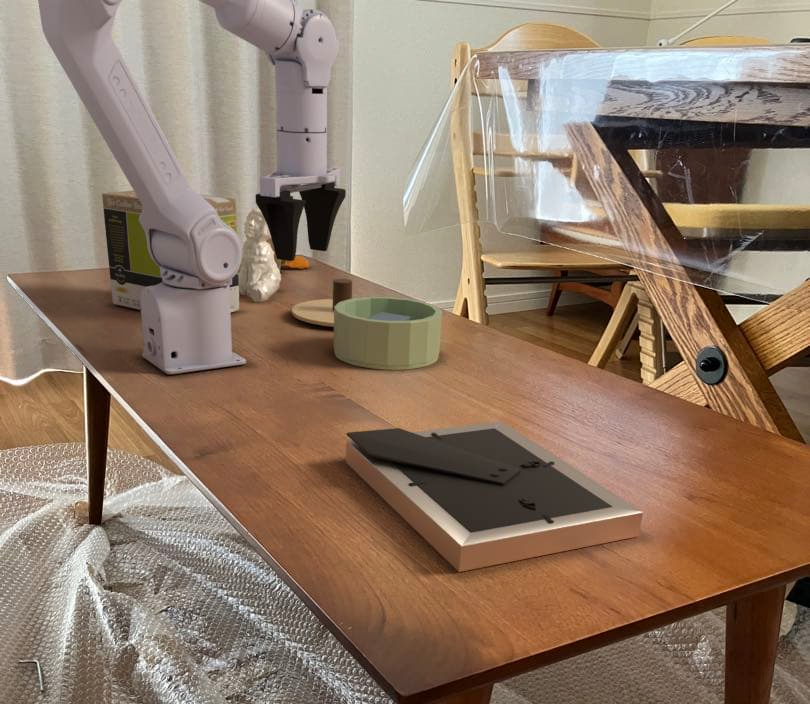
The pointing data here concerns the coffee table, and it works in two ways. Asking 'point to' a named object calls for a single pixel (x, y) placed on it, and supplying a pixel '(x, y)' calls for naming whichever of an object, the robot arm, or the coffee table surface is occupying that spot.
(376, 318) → the block
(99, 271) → the coffee table surface
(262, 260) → the seated beast figurine
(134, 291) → the tea box
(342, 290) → the lid
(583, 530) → the picture frame
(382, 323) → the green faceted round bowl
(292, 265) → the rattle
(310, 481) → the coffee table surface
